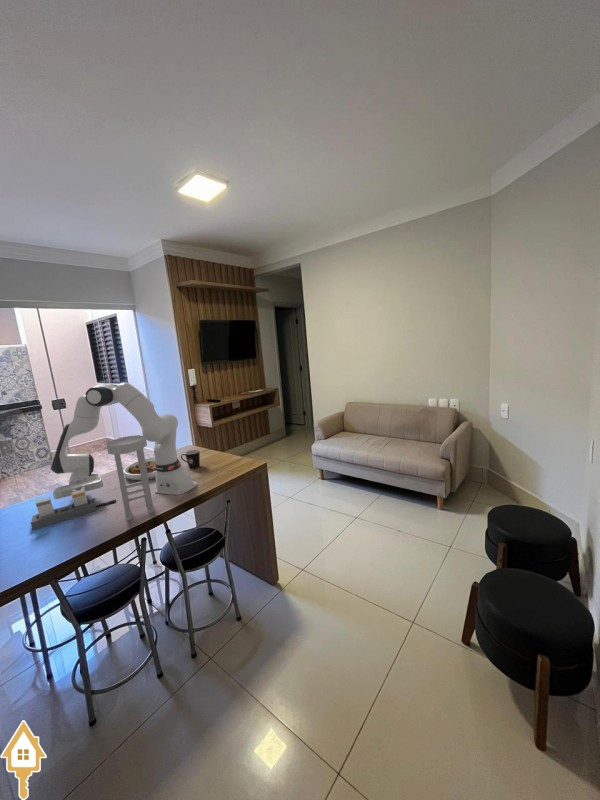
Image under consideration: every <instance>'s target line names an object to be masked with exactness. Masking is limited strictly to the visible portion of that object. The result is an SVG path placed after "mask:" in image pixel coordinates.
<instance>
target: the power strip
mask: <svg viewBox="0 0 600 800" xmlns="http://www.w3.org/2000/svg"><path fill="white" fill-rule="evenodd" d="M113 503H117V500H116V499H113V500H110V501H109V500H108V501H106V502H103V503H98V504H97V502H96V498H95V497H93V498H89V499H87V504H83V505H80V506H76V507H75V505H74V503H72V504H70V505H65V506H62V507H58V508H55V509H54V508H53V509H54V513H51V514H47V515H44V516H40V515H39V513H37V514H33V516H32V519H31V521H30V525H31V530H32V531H34V530H38V529H41V528H44V527H47V526H51V525H55V524H57V523H61V522H63V521H66V520H67V521H68V520H71V519H74V518H77V517H80V516H85V515H87V514H90V513H94V512H97V508H100V507H103V506H107V505H110V504H113Z"/></svg>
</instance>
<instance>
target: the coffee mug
mask: <svg viewBox="0 0 600 800" xmlns="http://www.w3.org/2000/svg"><path fill="white" fill-rule="evenodd" d="M183 456H185V457H186V460H185V459H184V458H183ZM200 457H201V456H200V449H191V450H188V451H186V452H184V453H182V454H181V455H180V458H181V460H183V462H185V463H187V465H188V469H190V470H196V469H198V468H200V464H201V462H200V461H201V460H200Z"/></svg>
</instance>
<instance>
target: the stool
mask: <svg viewBox="0 0 600 800" xmlns="http://www.w3.org/2000/svg"><path fill="white" fill-rule="evenodd" d="M147 446H148V443H147V440H146V438H145V436H143V435H140V434H139V435H138V434H135V435H128V436H123V437H118V438H115V439H112V440H110V441H108V442H107V443H106V449H107V454H109V455H113V456H114V461H115V467H116V472H117V477H118V482H119V486H120V487H119V488H120V492H121V497H122V498H121V500H122V503H123V508H124V514H125V518H126V521H131V520H132V519H133V517H132V511H131V510H132V509H131V506H130V502H133V501H136V500H139V499H143V498H144V502H145V506H146V507H147V512H148V514H152V513H154V512H155V509H154V505H153V498H152V492H151V488H150V487H151V486H150V479H148V474H147V468H146V462H145V459H146V458H145V457H146V456H145V452H144V448H147ZM133 452H134V453H135V452H136V456H137V461H138V463H139V469H140V474H141V480H140V481H138V482H137V481H136V482H134V483H130V484H126V479H125V475H124V468H123V463H122V458H121V455H125V454H129V453H133ZM140 485H142V487H138V488H134V487H137V486H140ZM132 487H133V488H134V489H131V490H128V489H129V488H132ZM140 492H143V493H142V494H139V495H136V496H132V497H129V496H131V495H134V494H138V493H140Z"/></svg>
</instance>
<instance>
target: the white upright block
mask: <svg viewBox="0 0 600 800" xmlns="http://www.w3.org/2000/svg"><path fill="white" fill-rule="evenodd" d="M71 494H72V495H71V497H72V501H73V504H74V505H75V507H76V506H80V505H83V504H87V500H88V497H87V494H86V492H85V490H84V489H82V490H78V491H75V492H71Z"/></svg>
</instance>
